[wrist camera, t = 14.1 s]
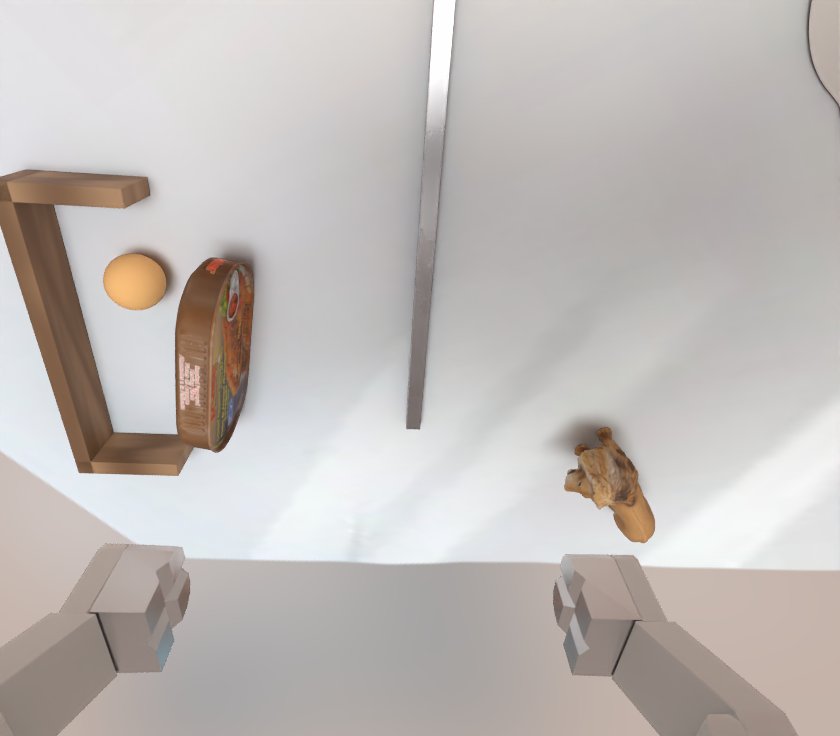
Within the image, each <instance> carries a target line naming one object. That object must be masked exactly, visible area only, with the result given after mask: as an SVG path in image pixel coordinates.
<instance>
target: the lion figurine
mask: <svg viewBox="0 0 840 736" xmlns="http://www.w3.org/2000/svg"><path fill="white" fill-rule="evenodd" d="M611 433H612V432H611V430H610V429H609V428H606V427H605V428H601V429H600V430H599V431H598V436H599V440H600V441H601V442H602V443H603V444H604V445H605V446H604V445H599V446H598V447H596V448H595V449H589V448H588V447H587V446H585V445H578V446H577V448H576V449H575V454H576V455H577V456H579V458H578V468H579V469H570V470H568V472H567V476H566V481H565V486H564V489H565V490H566V491H572V492H578V493H581V494H582V496H584V497H585V498H591V499H592V500H593V502H594V503H595V504H596V506H597V508H598V509H601V508H602V507H604V506H607V505H608V506H609V508H610V509H612V510H613V511H614V514H613V516H614V520H615V522H616V524H617V526H618V528H619V529H620V530H621V532H622V533H623V534H624V535H625V536H626V537H627V538H628V539H629V540H630V541H632V542H641V543H645V542H647V541H648V539H649V538H651V537H652V535H653V533H654V531H655V519H654V515H653V513H652V511H651V509H650V506H649V504H648V502H647V500H646V499H645V497H644V496H643V493H642V490H641V488H640V485H639V484H638V472H637V470H635V467H634V465H633V464H632V462H631V460H630V459H629V458H627V457H626V455H625V453H624V452H623V451H622V450H621V449H620V447H619V446H618V445H617V444H616V443H615V442H614V441H613V440H612V437H611Z"/></svg>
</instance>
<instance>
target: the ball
mask: <svg viewBox="0 0 840 736" xmlns="http://www.w3.org/2000/svg"><path fill="white" fill-rule="evenodd" d="M103 283H104V288H105V290H106V293H107V294H108V296H109V297H110V298H111V299H112V300H113V301H114V302H115V303H116V304H118V305H119V306H121V307H124V308H126V309H131V310H144V309H148V308H150V307H152V306H154V305H156V304H157V303H158V302H159V301H160V300H161V299H162V297H163V295H164V293H165V290H166V278H165V274H164V272H163V270H162V269H161V267H160V266H159V265H158V264H157V263H156V262H155V261H154V260H152V259H150V258H148V257H146V256H144V255H140V254H125V255H121V256H119V257H117V258H115V259H114V260H113V261H111V262H110V263H109V265H108V266H107V268H106V270H105V272H104V277H103Z"/></svg>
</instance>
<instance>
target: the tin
mask: <svg viewBox="0 0 840 736" xmlns="http://www.w3.org/2000/svg"><path fill="white" fill-rule="evenodd" d="M253 299H254V285H253V276H252V272H251V269H250V267H249V265H248V264H247V263H245V262H234V261H229V260H225V259H220V258H209V259H207V260H205V261H204V262H203V263H202V264H201V265H200V266H199V267H198V268H197V269H196V270H195V271H194V272H193V273H192V274H191V276H190V278H189V279H188V281H187V284H186V286H185V288H184V291H183V294H182V297H181V300H180V304H179V308H178V314H177V321H176V329H175V379H176V425H177V432H178V435H179V438H180V440H181V441H182V442H183V443H184V444H186V445H189V446H192V447H197V448H202V449H208V450H212V451H213V452H215V453H218V452H220V451H222V450H223V449H224V448H225V446H226V445H227V443H228V442H229V440H230V438H231V436H232V434H233V432H234V429H235V427H236V424H237V421H238V418H239V416H240V413H241V410H242V406H243V403H244V399H245V394H246V389H247V381H248V372H249V357H250V342H251V327H252V314H253Z"/></svg>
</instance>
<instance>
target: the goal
mask: <svg viewBox="0 0 840 736" xmlns="http://www.w3.org/2000/svg"><path fill="white" fill-rule="evenodd" d="M149 195H150V191H149V186H148V180H147V177H136V176H120V175H104V174H88V173H71V172H55V171H39V170H23V171H19V172H16V173H12V174H9V175H5V176H1V177H0V226H1V229H2V232H3V235H4V238H5V242H6V245H7V248H8V251H9V254H10V257H11V260H12V264H13V267H14V270H15V273H16V276H17V279H18V282H19V286H20V289H21V292H22V295H23V298H24V301H25V304H26V308H27V311H28V314H29V317H30V320H31V323H32V326H33V330H34V333H35V336H36V339H37V342H38V345H39V348H40V352H41V355H42V358H43V361H44V364H45V367H46V370H47V374H48V377H49V380H50V383H51V386H52V389H53V392H54V396H55V399H56V402H57V405H58V408H59V411H60V414H61V418H62V421H63V424H64V427H65V430H66V433H67V436H68V440H69V443H70V446H71V449H72V452H73V455H74V458H75V462H76V465H77V468H78V471H79V473H98V474H133V475H167V476H178V475H179V474H180V472H181V470H182V468H183V466H184V464H185V463H186V461H187V459H188V457H189V455H190V453H191V451H192V450H193V448H194V447H192V446H189V445H186V444H184V443H183V442H182V441H181V440H180V438H179V435H166V434H136V433H113V429H112V425H111V421H110V417H109V414H108V410H107V406H106V402H105V399H104V395H103V391H102V387H101V383H100V380H99V376H98V372H97V368H96V365H95V361H94V357H93V353H92V349H91V346H90V342H89V338H88V334H87V331H86V327H85V323H84V319H83V315H82V312H81V308H80V304H79V300H78V297H77V293H76V289H75V285H74V281H73V278H72V274H71V270H70V266H69V263H68V259H67V255H66V251H65V247H64V244H63V240H62V236H61V232H60V229H59V225H58V221H57V217H56V213H55V210H54V206H53V204H56V205H73V206H91V207H108V208H126V207H128V206H130V205H132V204H134V203H136V202H138V201H140V200H142V199H144V198H146V197H148V196H149Z"/></svg>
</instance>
